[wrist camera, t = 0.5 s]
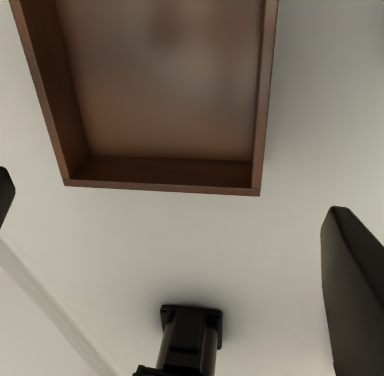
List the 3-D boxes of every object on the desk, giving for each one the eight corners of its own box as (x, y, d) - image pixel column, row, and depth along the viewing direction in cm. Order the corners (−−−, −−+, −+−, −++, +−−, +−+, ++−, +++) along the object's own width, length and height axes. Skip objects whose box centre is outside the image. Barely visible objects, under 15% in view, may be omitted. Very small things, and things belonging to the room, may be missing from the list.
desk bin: (258, 165, 24) (260, 197, 21) (87, 158, 26) (64, 186, 23) (278, -61, 17) (284, -65, 14) (38, -48, 19) (-7, -50, 16)
